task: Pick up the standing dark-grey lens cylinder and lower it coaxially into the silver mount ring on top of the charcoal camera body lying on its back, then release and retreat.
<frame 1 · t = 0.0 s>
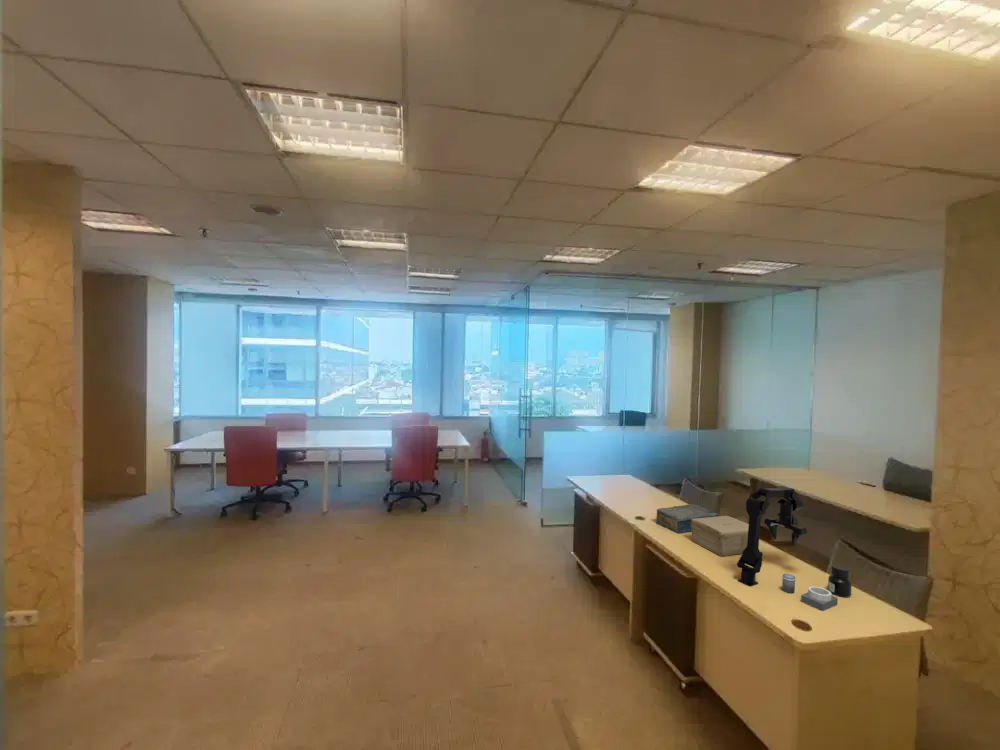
hand: (784, 542, 250), 15 cm above the table, fingers open, 9 cm apart
ink bottle: (839, 593, 228), on the table
lens: (788, 591, 229), on the table
metal box: (686, 526, 315), on the table
camera body: (819, 603, 218), on the table
paper package: (723, 547, 282), on the table
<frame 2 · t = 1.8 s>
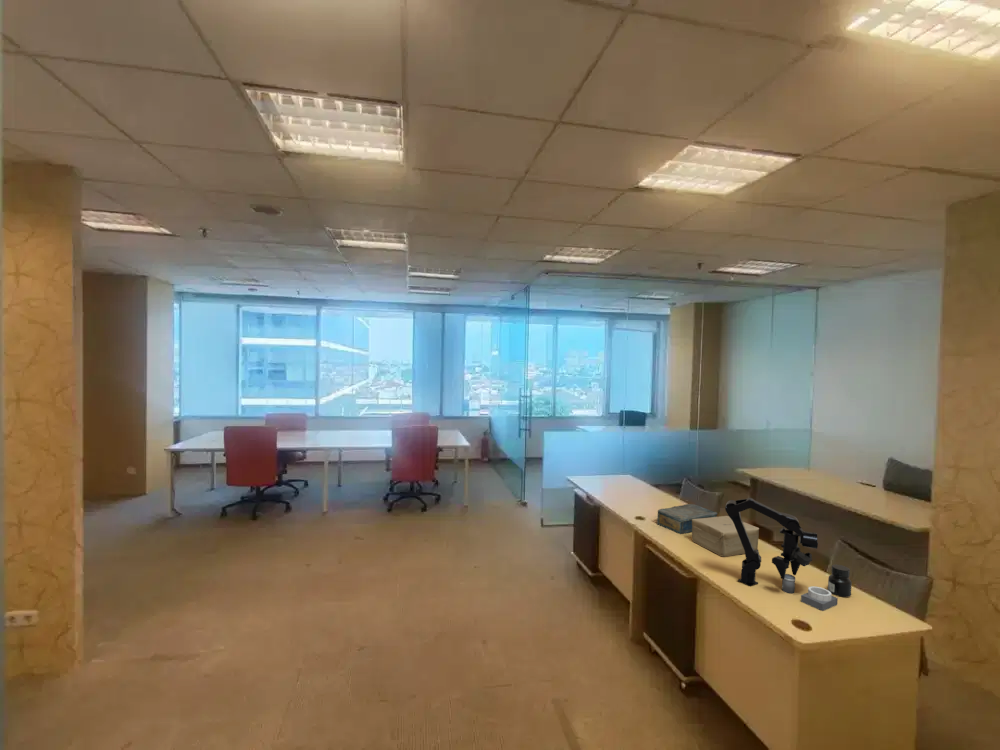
hand: (788, 577, 228), 7 cm above the table, fingers open, 9 cm apart
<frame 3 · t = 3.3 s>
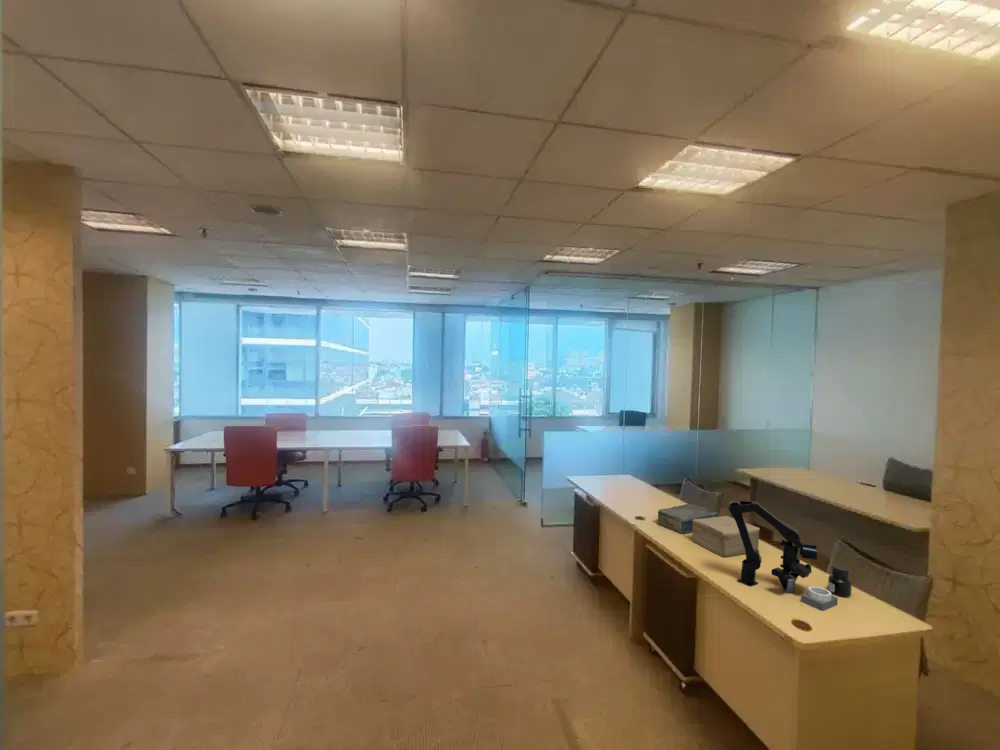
hand: (788, 588, 229), 1 cm above the table, fingers closed on lens, 5 cm apart
lens: (788, 591, 229), on the table, touching gripper
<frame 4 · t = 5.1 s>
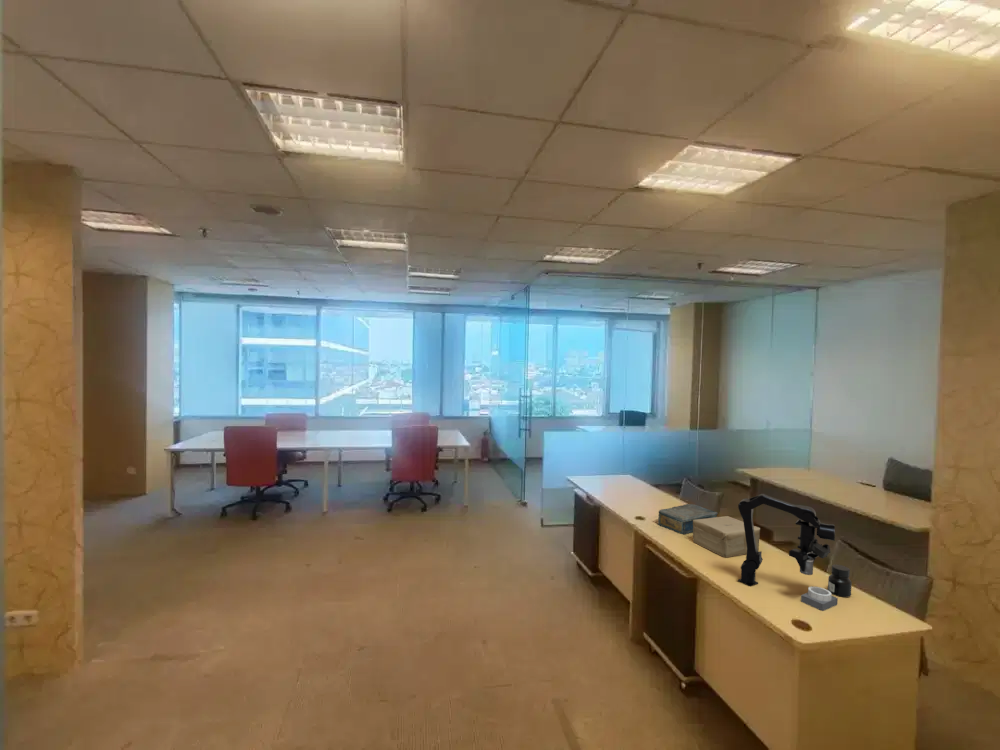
hand: (806, 570, 222), 13 cm above the table, fingers closed on lens, 5 cm apart
lens: (806, 572, 223), point 11 cm above the table, touching gripper
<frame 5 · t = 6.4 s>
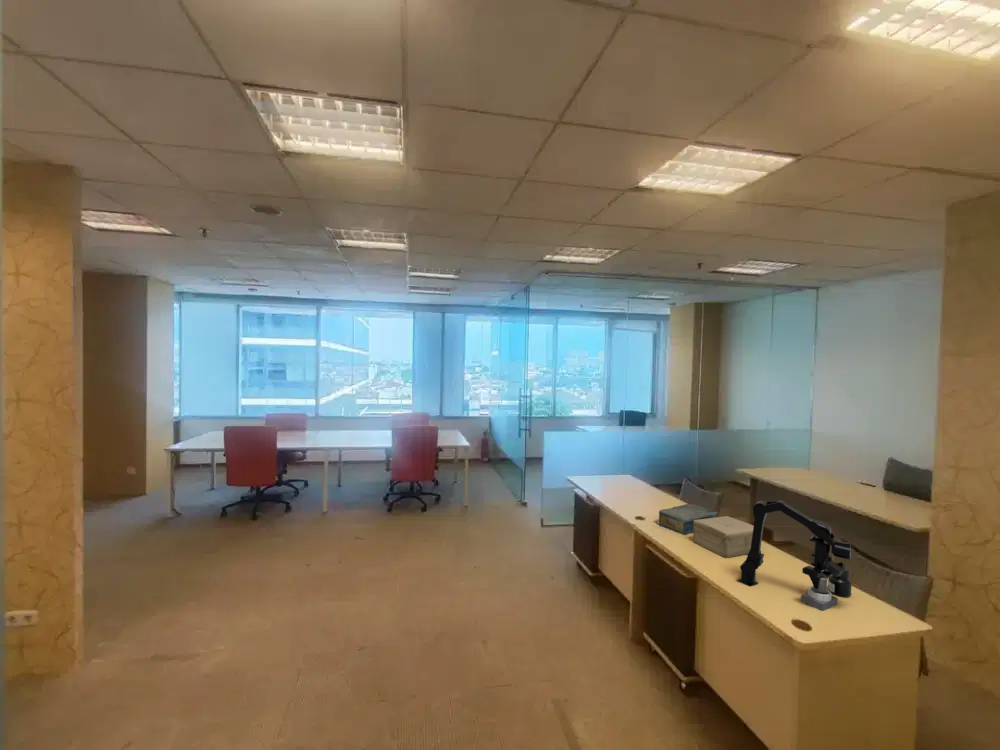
hand: (819, 587, 218), 7 cm above the table, fingers closed on lens, 5 cm apart
lens: (819, 590, 218), point 6 cm above the table, touching gripper
when the fingers open (6 cm above the table, at t = 7.3 s): lens drops 2 cm, resting on camera body.
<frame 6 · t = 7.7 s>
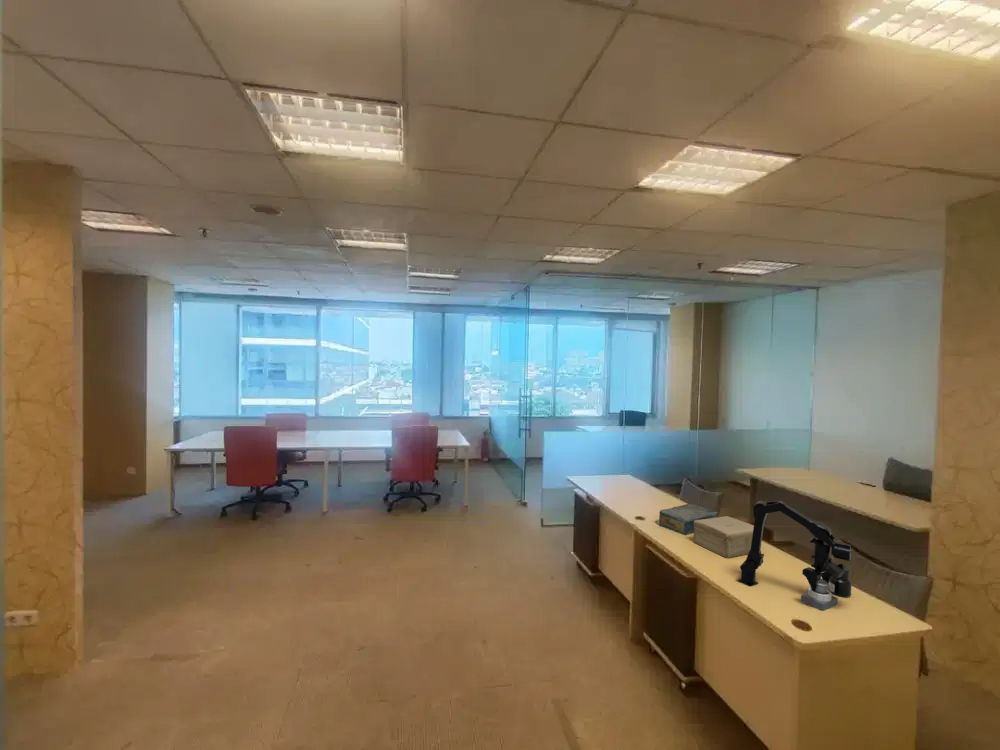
hand: (819, 589, 218), 6 cm above the table, fingers open, 9 cm apart
lens: (819, 596, 218), point 3 cm above the table, touching camera body
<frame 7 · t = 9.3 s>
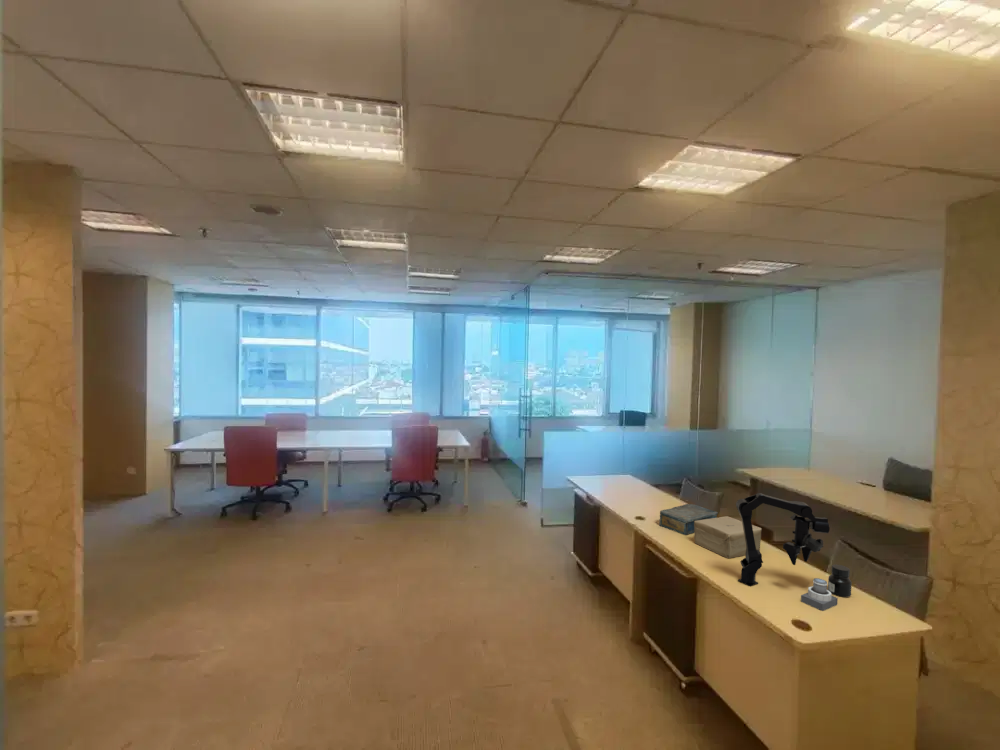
hand: (799, 563, 230), 12 cm above the table, fingers open, 9 cm apart
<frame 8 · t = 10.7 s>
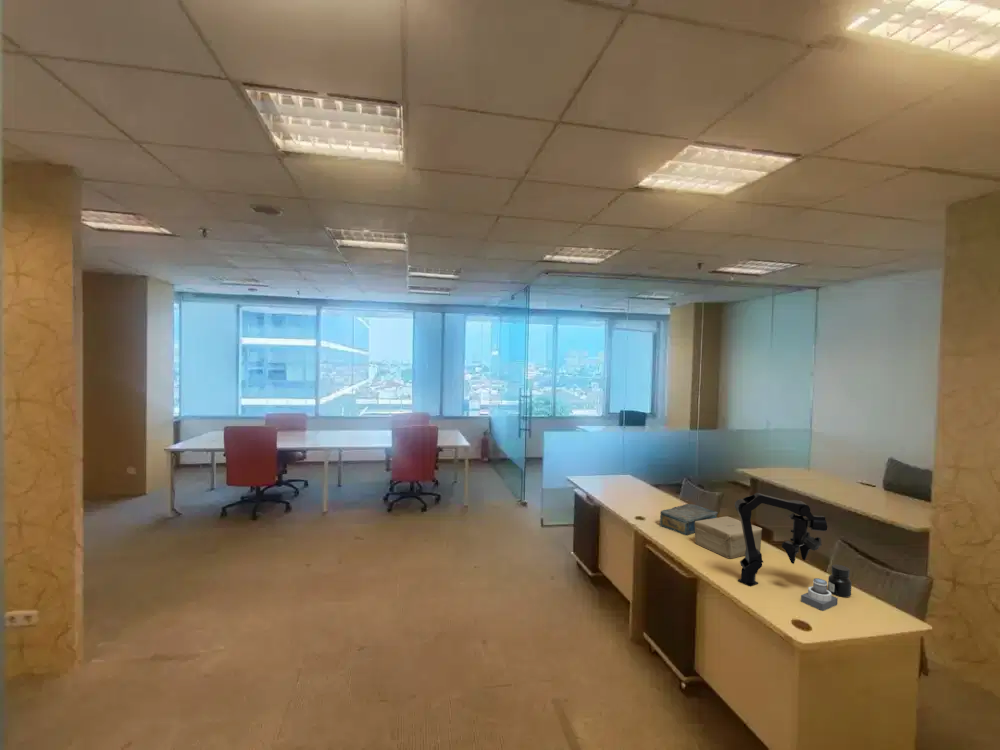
hand: (798, 561, 232), 13 cm above the table, fingers open, 9 cm apart
at the end: lens 0.0 cm off-centre on the camera body, point 3.0 cm above the camera body's base; lens tilted 1°; the gripper is holding nothing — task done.
